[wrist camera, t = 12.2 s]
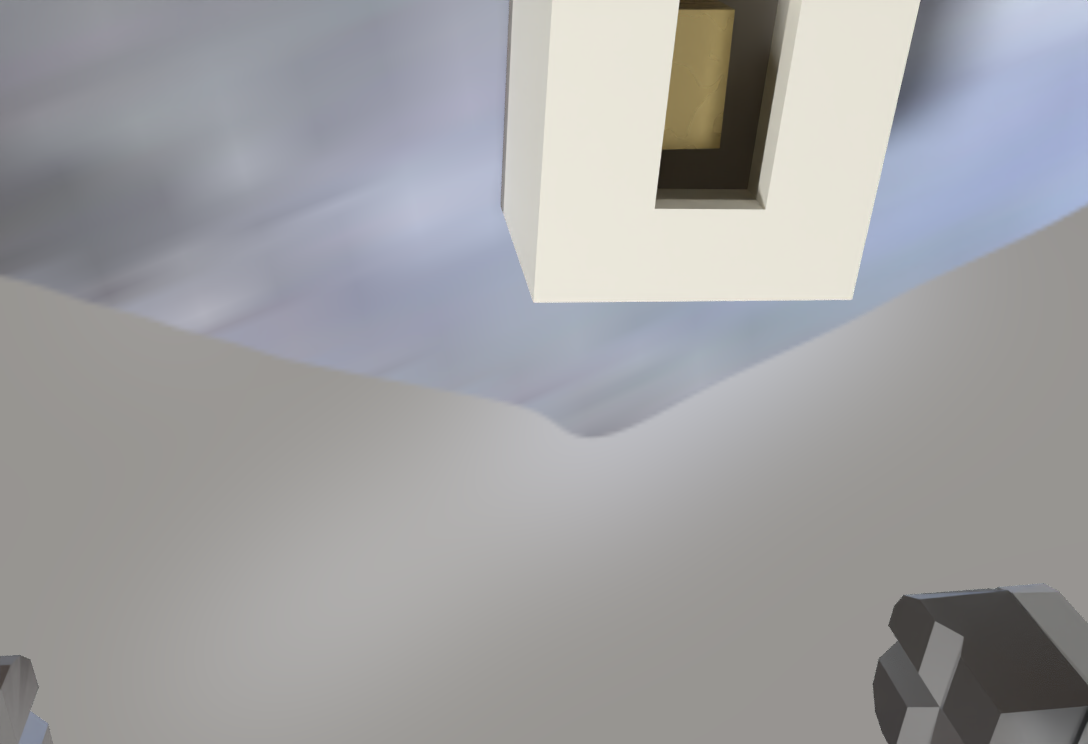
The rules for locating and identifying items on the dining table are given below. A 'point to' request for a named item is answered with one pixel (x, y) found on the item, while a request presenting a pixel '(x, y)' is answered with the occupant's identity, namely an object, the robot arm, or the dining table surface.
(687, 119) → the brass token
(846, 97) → the money box
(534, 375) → the dining table surface
